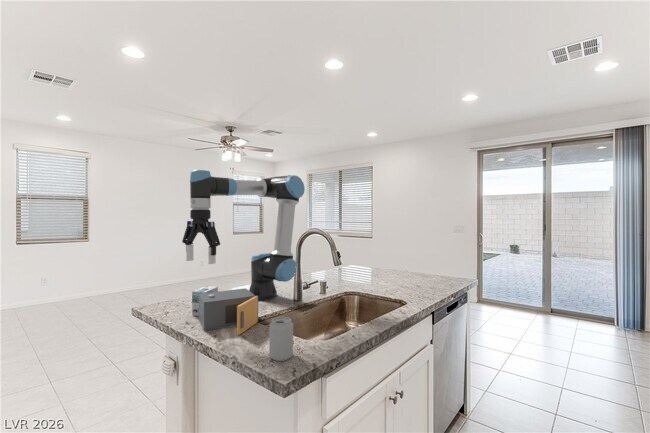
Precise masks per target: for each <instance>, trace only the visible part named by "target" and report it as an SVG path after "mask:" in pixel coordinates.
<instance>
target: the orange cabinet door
mask: <svg viewBox="0 0 650 433" xmlns="http://www.w3.org/2000/svg"><path fill="white" fill-rule="evenodd" d="M258 322H259V300H258V296H255V297H253V298H251V299H249V300H247V301H246V302H244V303H242V304H240V305H238V306H237V325H236V335H241V334H242V333H244V332H245V331H247V330H248V329H250V328H251V327H253V325H255V324H257V323H258Z"/></svg>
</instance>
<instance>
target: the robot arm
mask: <svg viewBox="0 0 650 433" xmlns="http://www.w3.org/2000/svg"><path fill="white" fill-rule="evenodd" d="M189 178H190V179H189V183H190V184H189V190H190V191H189V193H190V196H189V197H190V217H189V218H190V220H187V221H186V228H185V230H184V231H185V232H184V235H183V237H182V241H181V242H182V244H184V245H185V252H186V258H185V260H186V262H190V261H192V262H193V261H194V243H193V242H194V240H195V239H196V238H197V235H198V234H199V233H201V234H202V235H203V236H204V238H205V240H206V241H207V244H208V245H209V246H208V251H207V252H208V254H207V255H208V265H215V264H216V255H217V247H219V246H221V241H220V239H219V238H220V237H219V235H218V232H217V229H216V224H215V221H209V220H210V219H211V210H210V209H211V207H212V206H211V202H212V201H211V197H217V196H222V197H224V196H227V197H228V196H232V197H233V196H258V197H259V198H270V199H272V198H273V199H276V200H275V201H276V202H277V203H278V207H277V216H276V218H277V219H276V226H275V227H276V228H275V235H274V236H275V237H274V245H273V246H274V247H273V250H272V251H271V252H267V253H266V252H265V253H264V252H263V253H258V254H257V253H256V254H253V255H252V256H251V261H250V268H251V270H250V271H251V281H250V282H251V283H250V285H249V289H248V290H249V291H250V292H251V293H252V294H254V295H255V296H258V301H266V300H267V301H268V300H272V299H276V298H277V296H278V293H277V289H276V286H275V282H274V281H278V282H284V283H286V282H289V281H291V280H293V278H294V277H295V275H296V273H297V270H296V268H295V266H296V267H297V268H298V265H297V263H296V262H297V261H296V260H295V259H294V254H293V252H292V251H291V250H292V243H293V232H294V223H295V222H294V221H295V214H296V213H295V212H296V206H297V205H298V204H299V202H300V201H299V200H300V198H302V197H303V196H304V194H305V191H306V190H305V187H306V186H305V184H304V182H303V180H302V178H301V177H299V175H295V174H293V175H292V174H291V175H290V174H287V175H282V176H273V177H266V178H258V179H256V180H255V179H254V180H250V179H249V180H247V179H246V180H245V179H234V178H231V177H230V178H229V177H220V176H212V174H211V171H209V170H206V169H193V170H191V171H190V177H189ZM294 273H295V274H294Z"/></svg>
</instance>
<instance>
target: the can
mask: <svg viewBox="0 0 650 433" xmlns="http://www.w3.org/2000/svg"><path fill="white" fill-rule="evenodd" d="M268 328H269V330H268V331H269V334H268V335H269V337H268V338H269V340H268V341H269V342H268V343H269V346H268V348H269V350H268V351H269V354H268V355H269V357H270V358H271V359H272V360H273V361H275V360H276V361H275V362H284V361H283V360H286V361H288V360H289V358H292V357H293V356H294V323H293V322H292V318H290V317H288V316H277V317H274V318H272V319H271V322H270V323H269V325H268ZM287 359H288V360H287Z"/></svg>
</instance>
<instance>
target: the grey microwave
mask: <svg viewBox="0 0 650 433" xmlns="http://www.w3.org/2000/svg"><path fill="white" fill-rule="evenodd" d="M253 297H255V295H254V294H252V293H251V292H250V291H249V289H247V288H238V289H228V290H220V291H218V292H211V293H202V294H199V316H198V321H199V323H200V325H201V327H202V329H203V330H202V331H203V332H208V331H213V330H218V329H223V328H224V329H225V328H230V327H235V326H236V327H237V306H238V305H240V304H242V303H244V302H246V301H247V300H249V299H251V298H253Z"/></svg>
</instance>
